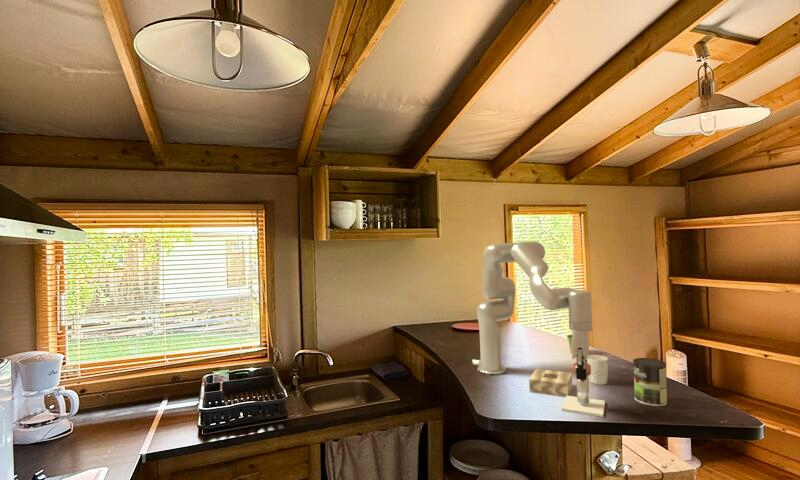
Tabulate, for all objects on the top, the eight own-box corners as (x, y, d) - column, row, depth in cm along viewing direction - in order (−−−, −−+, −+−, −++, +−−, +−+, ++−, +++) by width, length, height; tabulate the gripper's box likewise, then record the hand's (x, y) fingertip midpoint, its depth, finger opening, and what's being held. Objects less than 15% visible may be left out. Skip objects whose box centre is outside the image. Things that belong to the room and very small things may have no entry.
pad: (561, 410, 144) (561, 408, 144) (566, 397, 156) (566, 395, 156) (603, 417, 138) (603, 414, 138) (604, 402, 150) (604, 400, 150)
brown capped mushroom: (573, 402, 146) (572, 366, 146) (575, 397, 151) (574, 362, 151) (591, 405, 143) (590, 368, 143) (592, 399, 148) (591, 363, 148)
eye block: (529, 391, 163) (529, 379, 163) (536, 380, 175) (536, 368, 175) (567, 397, 156) (567, 383, 156) (572, 385, 168) (571, 372, 168)
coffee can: (646, 407, 145) (645, 366, 145) (628, 396, 155) (626, 358, 155) (674, 405, 145) (673, 365, 145) (654, 394, 156) (652, 356, 156)
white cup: (611, 385, 166) (610, 360, 166) (590, 385, 168) (589, 360, 168) (605, 378, 174) (604, 355, 174) (585, 378, 176) (584, 354, 176)
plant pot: (567, 355, 210) (566, 338, 210) (567, 350, 219) (566, 334, 219) (587, 356, 207) (586, 339, 207) (586, 351, 215) (586, 334, 215)
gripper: (572, 320, 156) (573, 368, 156) (566, 329, 141) (567, 383, 141) (593, 321, 153) (595, 370, 153) (590, 331, 138) (592, 386, 138)
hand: (582, 376), depth 147 cm, fingers closed on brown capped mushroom, 5 cm apart
